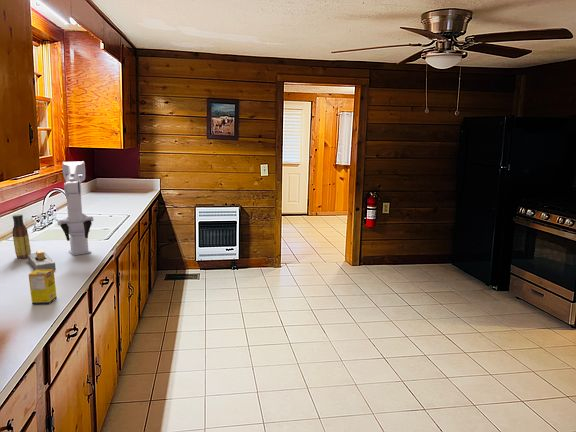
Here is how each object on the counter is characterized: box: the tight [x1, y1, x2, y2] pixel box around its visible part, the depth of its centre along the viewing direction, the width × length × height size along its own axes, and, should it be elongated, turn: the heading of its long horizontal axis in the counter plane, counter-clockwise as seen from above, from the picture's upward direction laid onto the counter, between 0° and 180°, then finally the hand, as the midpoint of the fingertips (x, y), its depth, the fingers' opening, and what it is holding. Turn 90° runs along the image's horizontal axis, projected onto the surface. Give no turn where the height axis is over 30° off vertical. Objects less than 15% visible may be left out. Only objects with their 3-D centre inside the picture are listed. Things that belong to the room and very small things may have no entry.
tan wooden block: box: [35, 250, 45, 260], centre depth 211 cm, size 4×2×6 cm, turn 38°
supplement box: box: [28, 269, 57, 305], centre depth 168 cm, size 6×6×11 cm
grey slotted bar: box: [26, 251, 57, 271], centre depth 212 cm, size 22×7×3 cm, turn 37°
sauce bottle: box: [12, 214, 32, 260], centre depth 223 cm, size 7×6×20 cm
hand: (77, 239), depth 216 cm, fingers open, 7 cm apart
